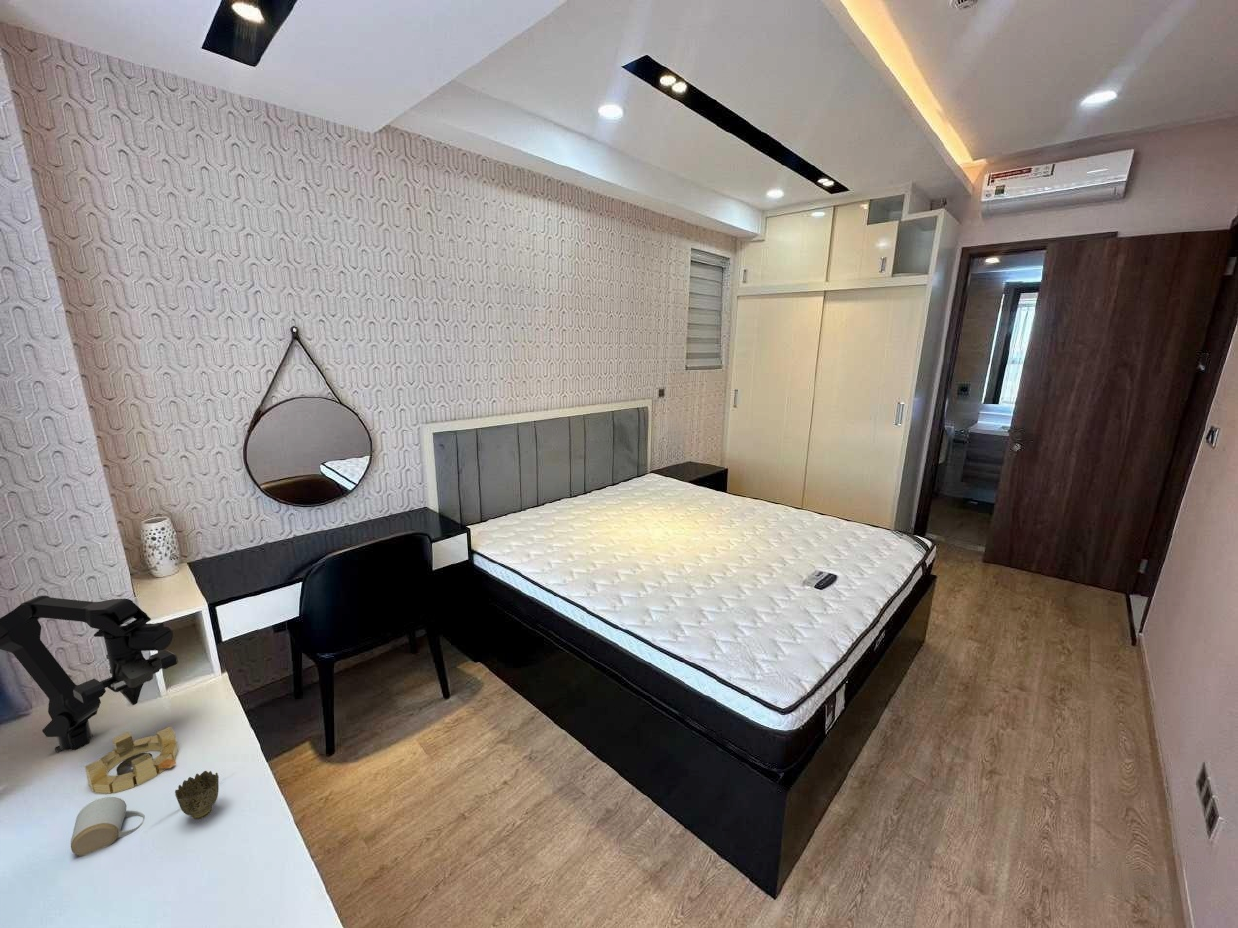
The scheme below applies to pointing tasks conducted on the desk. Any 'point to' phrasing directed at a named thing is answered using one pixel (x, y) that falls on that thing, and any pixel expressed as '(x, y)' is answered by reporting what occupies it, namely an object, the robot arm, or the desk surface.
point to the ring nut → (133, 761)
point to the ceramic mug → (100, 825)
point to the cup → (198, 794)
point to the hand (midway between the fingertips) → (134, 704)
